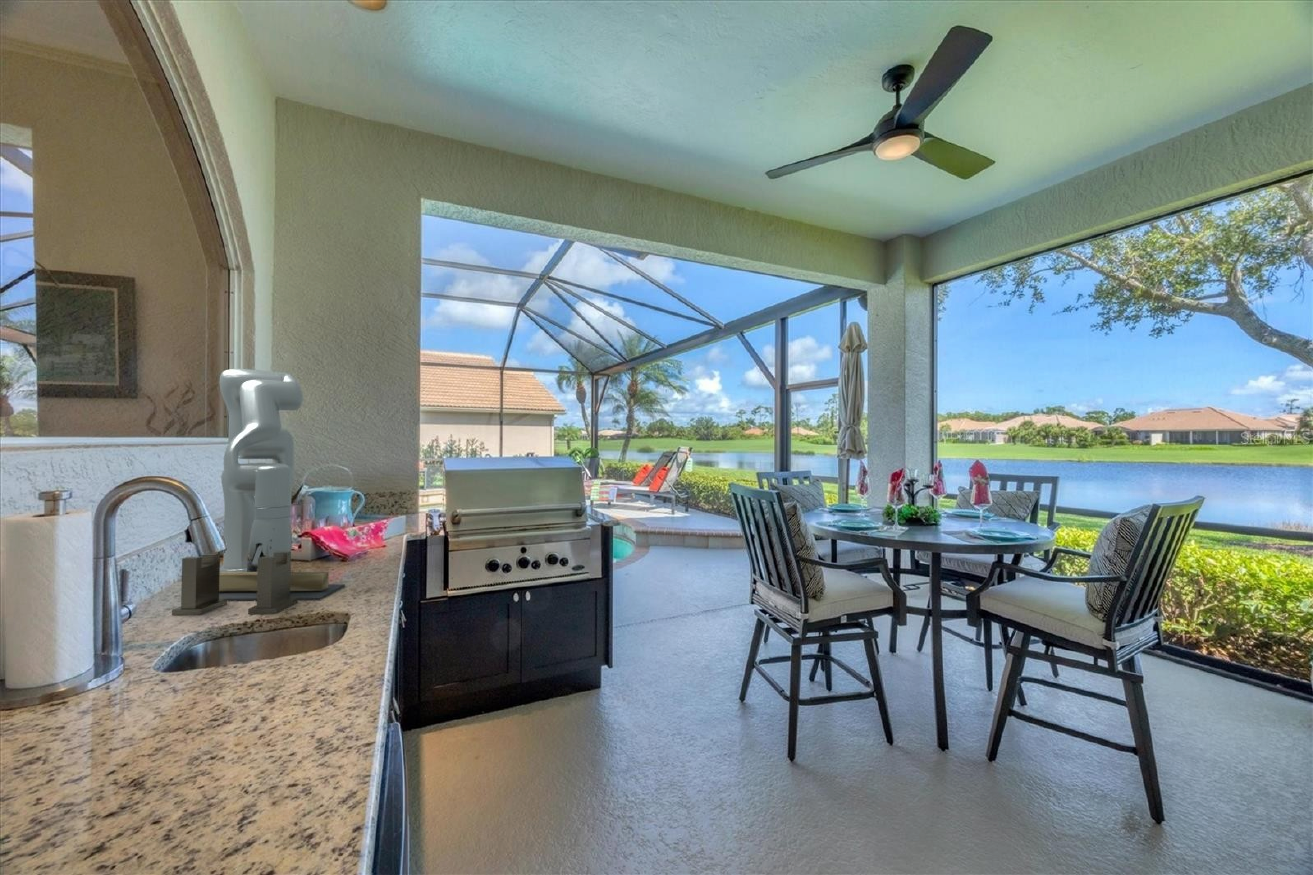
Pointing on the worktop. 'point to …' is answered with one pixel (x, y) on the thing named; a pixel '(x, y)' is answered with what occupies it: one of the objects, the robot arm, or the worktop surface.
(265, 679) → the worktop surface
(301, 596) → the mat
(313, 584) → the rail
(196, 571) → the rail stands
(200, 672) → the worktop surface
